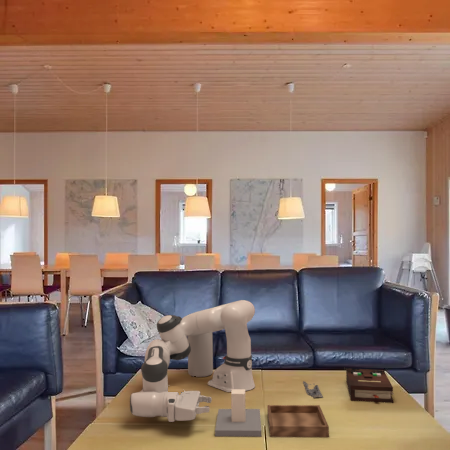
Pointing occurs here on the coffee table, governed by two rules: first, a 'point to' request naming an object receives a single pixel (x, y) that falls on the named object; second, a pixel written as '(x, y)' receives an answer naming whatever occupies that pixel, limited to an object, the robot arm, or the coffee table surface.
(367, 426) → the coffee table surface
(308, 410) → the box
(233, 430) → the board
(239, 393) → the tall cream pillar block
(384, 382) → the decorative book
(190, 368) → the cylinder vase
